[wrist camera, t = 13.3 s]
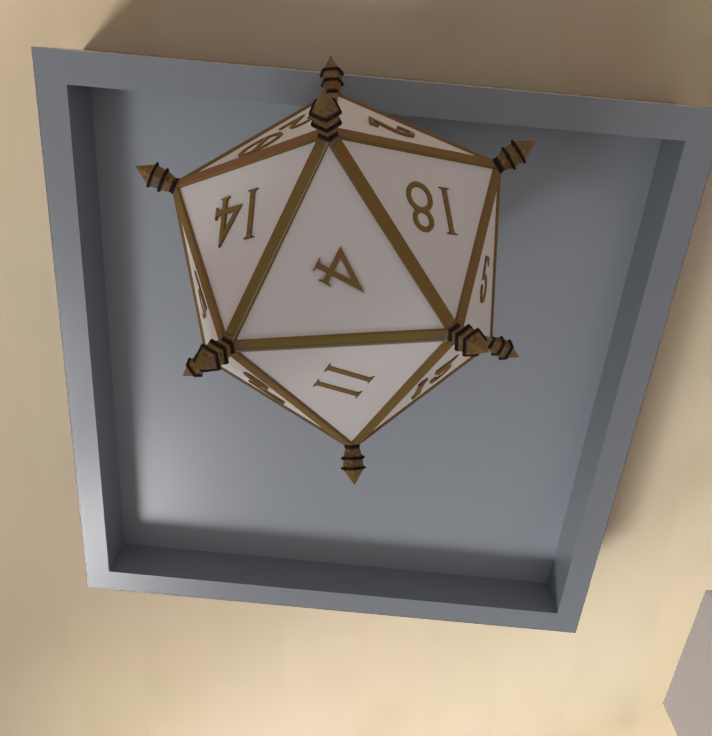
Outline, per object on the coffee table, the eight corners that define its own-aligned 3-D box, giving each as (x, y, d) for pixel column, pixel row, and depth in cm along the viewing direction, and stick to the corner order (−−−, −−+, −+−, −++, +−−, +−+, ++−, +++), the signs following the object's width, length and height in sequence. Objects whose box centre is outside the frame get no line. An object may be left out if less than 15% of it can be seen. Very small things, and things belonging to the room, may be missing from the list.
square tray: (119, 533, 26) (87, 587, 24) (81, 49, 19) (31, 46, 16) (555, 574, 26) (575, 633, 23) (678, 104, 19) (727, 110, 16)
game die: (248, 559, 17) (102, 395, 9) (175, 304, 21) (22, 10, 12) (557, 442, 19) (708, 191, 10) (434, 220, 22) (463, -106, 14)
